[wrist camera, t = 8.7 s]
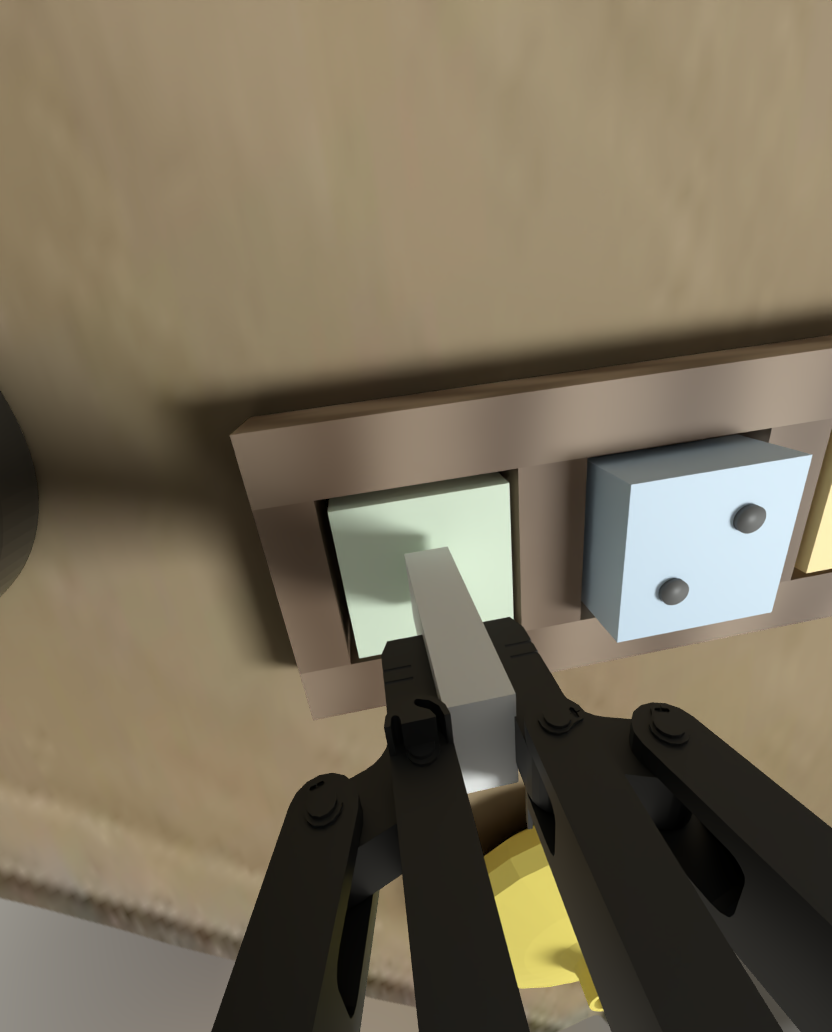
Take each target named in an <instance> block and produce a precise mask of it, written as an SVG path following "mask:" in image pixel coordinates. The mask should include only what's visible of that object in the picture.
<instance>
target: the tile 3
mask: <svg viewBox="0 0 832 1032" xmlns="http://www.w3.org/2000/svg"><path fill="white" fill-rule="evenodd" d="M794 567H795V568H797V569H799V570H801V571H803V572H804V573H811V572H816V571H821V570H827V569H832V429H831V433H830V437H829V440H828V444H827V448H826V451H825V455H824V459H823V462H822V466H821V470H820V474H819V477H818V481H817V485H816V488H815V492H814V496H813V499H812V503H811V507H810V510H809V514H808V518H807V521H806V525H805V529H804V532H803V536H802V540H801V544H800V547H799V551H798V555H797V558H796V562H795V566H794Z"/></svg>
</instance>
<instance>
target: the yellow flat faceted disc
mask: <svg viewBox="0 0 832 1032" xmlns="http://www.w3.org/2000/svg"><path fill="white" fill-rule="evenodd" d="M484 859H485V863H486V867H487V871H488V875H489V878H490V882H491V886H492V890H493V894H494V897H495V901H496V905H497V909H498V913H499V917H500V920H501V924H502V928H503V932H504V936H505V939H506V943H507V947H508V951H509V955H510V958H511V962H512V966H513V970H514V974H515V977H516V981H517V985H518V988H539V987H551V986H556V985H561V984H566V983H572V982H576V981H580V984H581V986H582V989H583V992H584V994H585V997H586V999H587V1002H588V1005H589V1007H590V1009H591V1010H593V1011H604V1010H603V1008H602V1005H601V1002H600V1000H599V997H598V994H597V992H596V989H595V986H594V984H593V981H592V978H591V976H590V973H589V970H588V968H587V965H586V962H585V960H584V957H583V954H582V952H581V949H580V946H579V944H578V941H577V938H576V936H575V933H574V930H573V928H572V925H571V922H570V920H569V917H568V914H567V912H566V909H565V906H564V904H563V901H562V898H561V896H560V893H559V890H558V887H557V885H556V882H555V879H554V877H553V874H552V871H551V869H550V866H549V863H548V861H547V858H546V855H545V853H544V850H543V847H542V845H541V842H540V839H539V837H538V834H537V831H536V829H535V826H534V825H533V829H528V828H527V829H525V830H523V831H521V832H519V833H517V834H515V835H514V836H512V837H510V838H509V839H507V840H506V841H504V842H503V843H502V844H500V845H499V846H498V847H496V848H495V849H493V850H492V851H491V852H489V853H488V854H487V855H485V856H484Z"/></svg>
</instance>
